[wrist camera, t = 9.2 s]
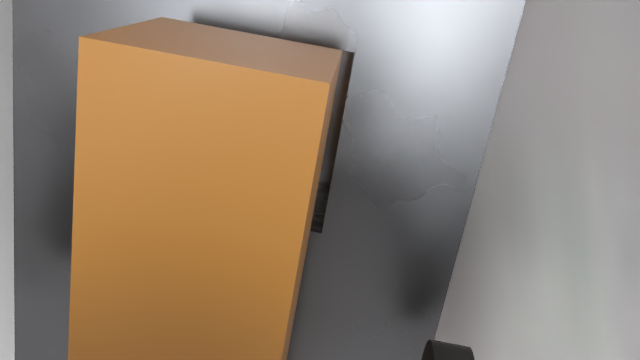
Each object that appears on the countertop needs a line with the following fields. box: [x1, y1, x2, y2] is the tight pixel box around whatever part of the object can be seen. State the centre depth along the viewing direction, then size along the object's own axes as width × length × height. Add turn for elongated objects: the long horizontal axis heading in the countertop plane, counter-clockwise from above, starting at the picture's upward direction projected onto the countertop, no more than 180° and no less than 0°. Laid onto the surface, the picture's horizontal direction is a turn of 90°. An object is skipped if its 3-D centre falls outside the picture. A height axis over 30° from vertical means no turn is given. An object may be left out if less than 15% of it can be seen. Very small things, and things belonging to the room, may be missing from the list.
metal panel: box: [13, 0, 526, 360], centre depth 15 cm, size 18×9×4 cm, turn 170°
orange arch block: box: [68, 17, 343, 360], centre depth 12 cm, size 11×3×7 cm, turn 170°
